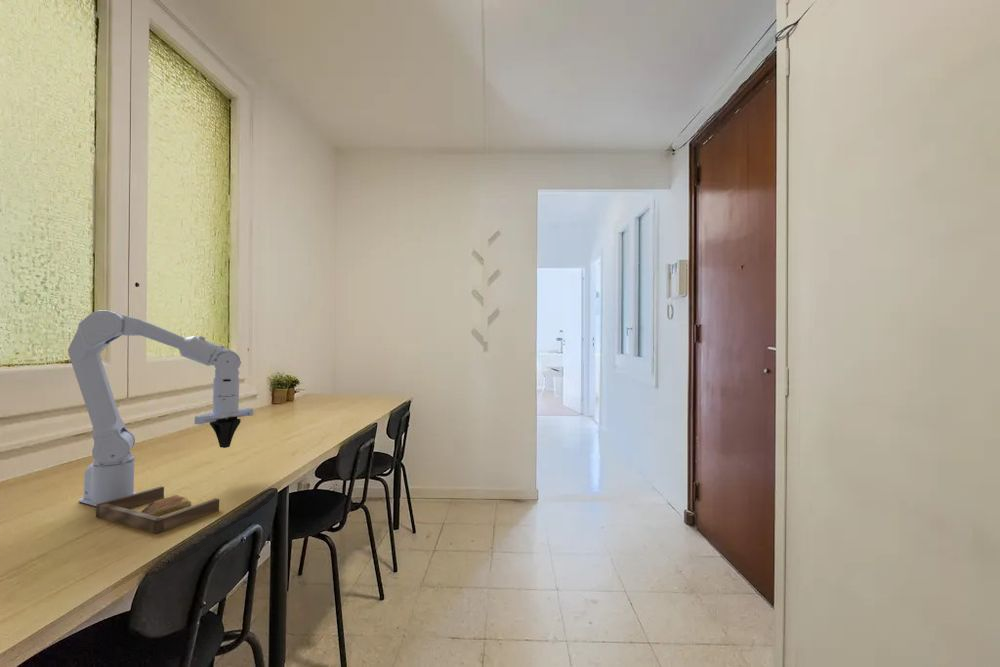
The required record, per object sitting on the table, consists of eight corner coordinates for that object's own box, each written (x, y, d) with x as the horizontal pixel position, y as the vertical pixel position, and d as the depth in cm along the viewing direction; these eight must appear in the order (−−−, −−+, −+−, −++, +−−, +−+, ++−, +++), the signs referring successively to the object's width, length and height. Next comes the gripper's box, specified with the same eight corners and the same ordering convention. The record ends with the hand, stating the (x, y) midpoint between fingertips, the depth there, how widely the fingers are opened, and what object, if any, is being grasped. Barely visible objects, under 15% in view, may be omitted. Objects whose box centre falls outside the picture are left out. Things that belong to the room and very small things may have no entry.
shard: (134, 525, 85) (134, 517, 85) (115, 518, 89) (115, 510, 89) (192, 507, 95) (192, 499, 95) (173, 501, 98) (173, 493, 98)
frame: (96, 516, 88) (96, 504, 88) (160, 496, 100) (160, 486, 100) (156, 533, 81) (157, 520, 81) (219, 510, 92) (219, 499, 92)
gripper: (208, 399, 102) (207, 455, 102) (261, 393, 116) (260, 442, 115) (189, 398, 105) (188, 452, 104) (243, 391, 118) (242, 439, 118)
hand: (224, 447), depth 110 cm, fingers closed
